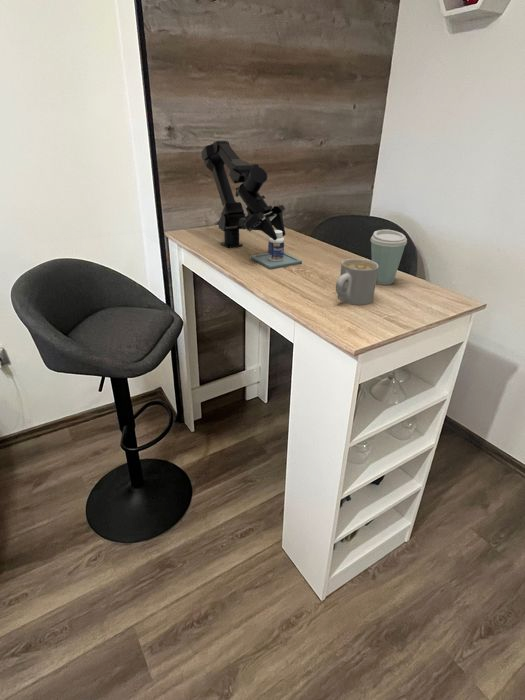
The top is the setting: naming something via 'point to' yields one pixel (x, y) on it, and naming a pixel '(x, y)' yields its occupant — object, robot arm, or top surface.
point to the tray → (269, 264)
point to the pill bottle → (276, 247)
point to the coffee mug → (357, 281)
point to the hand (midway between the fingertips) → (280, 237)
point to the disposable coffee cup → (387, 253)
